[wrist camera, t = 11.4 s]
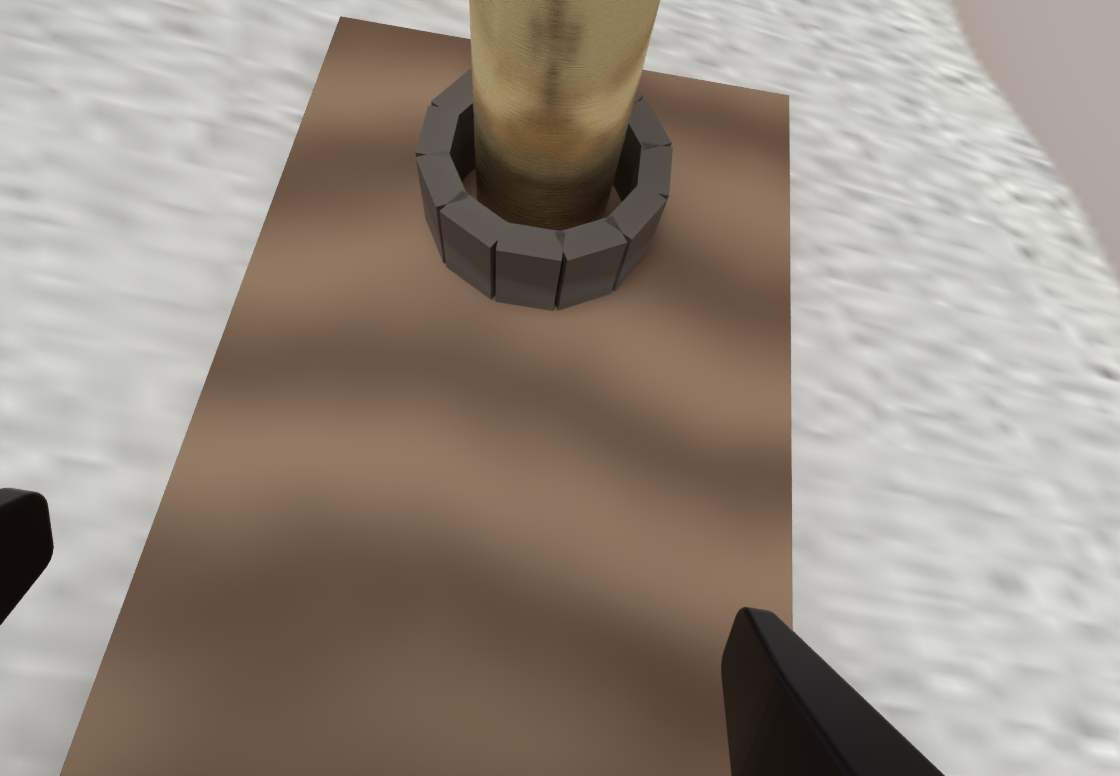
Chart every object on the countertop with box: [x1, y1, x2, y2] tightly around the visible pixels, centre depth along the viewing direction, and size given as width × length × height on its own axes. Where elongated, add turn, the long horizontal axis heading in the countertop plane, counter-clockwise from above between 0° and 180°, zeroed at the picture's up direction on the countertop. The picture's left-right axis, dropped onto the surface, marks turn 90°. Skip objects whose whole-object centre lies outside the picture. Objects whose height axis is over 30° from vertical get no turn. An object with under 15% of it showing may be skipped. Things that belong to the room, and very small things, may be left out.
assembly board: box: [60, 17, 793, 776], centre depth 19 cm, size 30×18×4 cm, turn 173°
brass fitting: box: [469, 0, 660, 231], centre depth 17 cm, size 4×4×13 cm
